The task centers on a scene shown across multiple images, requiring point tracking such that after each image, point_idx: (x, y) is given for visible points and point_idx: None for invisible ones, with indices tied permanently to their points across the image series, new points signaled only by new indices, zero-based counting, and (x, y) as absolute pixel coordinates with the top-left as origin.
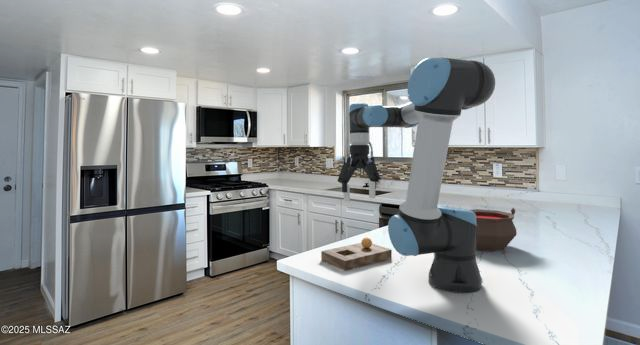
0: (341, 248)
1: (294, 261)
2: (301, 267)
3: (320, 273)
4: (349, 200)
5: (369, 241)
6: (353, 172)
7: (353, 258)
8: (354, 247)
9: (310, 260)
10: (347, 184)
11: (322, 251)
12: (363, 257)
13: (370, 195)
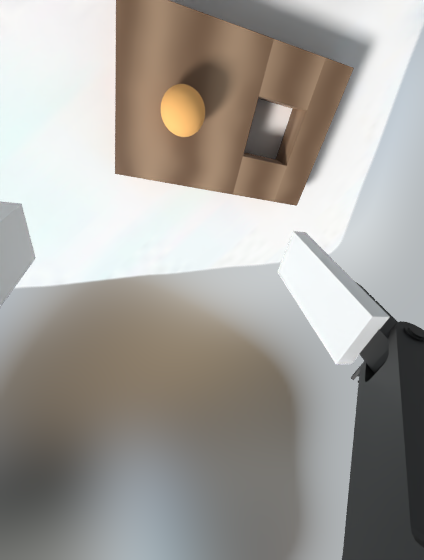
0: (242, 180)
1: (321, 236)
2: (351, 193)
3: (375, 120)
4: (297, 234)
5: (189, 88)
6: (417, 471)
7: (318, 60)
8: (205, 155)
9: (298, 216)
10: (382, 319)
11: (297, 201)
12: (278, 41)
13: (24, 254)
